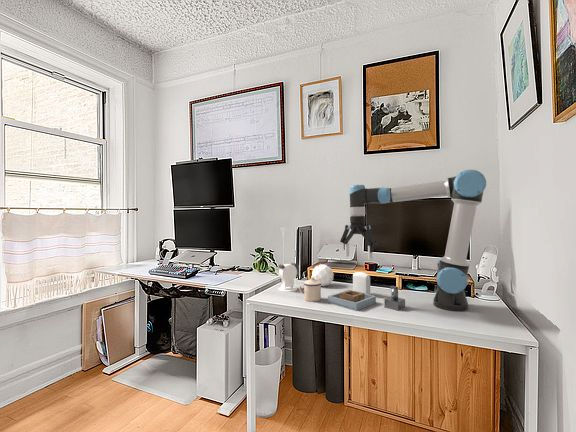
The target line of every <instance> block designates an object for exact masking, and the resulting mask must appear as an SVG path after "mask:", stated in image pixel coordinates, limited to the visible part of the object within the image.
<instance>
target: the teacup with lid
mask: <svg viewBox="0 0 576 432" xmlns="http://www.w3.org/2000/svg"><path fill="white" fill-rule="evenodd" d="M302 287H304V288H303V290H304V291H303V290H302ZM298 289H299V293H301V294H302V295H303V296H304V298H303V299H304V300H305V301H306V302H311V303H315V302H319V301H321V300H322V299H321V297H322V293H321V292H322V290H321V289H322V286H321V282H320V281H317V280H316V279H314V277H312V276H311V277H310V278H308V280H305V281H304V283H303V284H301V285H300V286H299V287H298Z"/></svg>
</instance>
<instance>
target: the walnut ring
mask: <svg viewBox="0 0 576 432" xmlns="http://www.w3.org/2000/svg"><path fill="white" fill-rule="evenodd" d="M347 290H348V291H346V290H344V291H345V292H343V291H341V292H342V293H340V292H338V293H339V298H340V299H344V300H348V301H352V302H359V301H361V300H364V299H365V293H361V292H357V291H353V289H347Z"/></svg>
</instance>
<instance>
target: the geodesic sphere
mask: <svg viewBox="0 0 576 432" xmlns="http://www.w3.org/2000/svg"><path fill="white" fill-rule="evenodd" d="M311 272H312V273H311V277H314V279H316V280H317V281H320V282H321V287H327V286H330V285H331V283H332V282H333V281H334V276H335V275H334V274H335V273H334V272H333V269H332V267H330V266H328V265H327V264H324V263H320V264H318V265H316V266H315V267H314V268H313V269H312V271H311Z"/></svg>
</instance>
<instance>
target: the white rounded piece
mask: <svg viewBox="0 0 576 432" xmlns="http://www.w3.org/2000/svg"><path fill="white" fill-rule="evenodd" d="M278 268H279V270H278V276H279V277H278V278H279V282H280V284H281V285H280V287H278V288H277V290H278V291H280V292H284V293H285V292H286V293H287V292H288V293H289V292H290V293H291V292H296V291H298V288H297V287H296V286H295V279H296V278H297V275H298V270H297V268H298V264H297V263H296V262H291V263H284V264H278Z"/></svg>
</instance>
